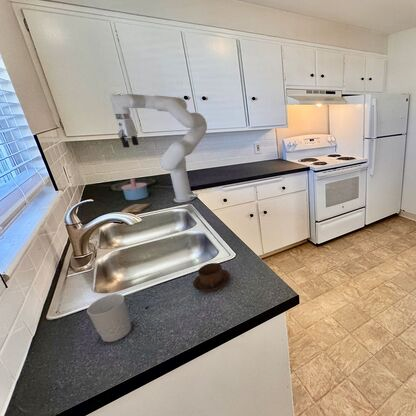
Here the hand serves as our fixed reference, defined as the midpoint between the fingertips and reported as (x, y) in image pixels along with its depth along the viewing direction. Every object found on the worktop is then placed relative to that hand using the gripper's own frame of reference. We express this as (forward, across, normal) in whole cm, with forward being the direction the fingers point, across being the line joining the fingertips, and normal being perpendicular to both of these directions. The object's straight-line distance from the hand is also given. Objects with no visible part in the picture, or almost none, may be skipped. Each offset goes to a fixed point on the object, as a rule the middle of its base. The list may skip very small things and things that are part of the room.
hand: (131, 146), depth 165 cm
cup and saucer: (+35, -96, -73) cm, 126 cm away
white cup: (+36, -116, -53) cm, 132 cm away
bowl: (+36, +10, +10) cm, 39 cm away
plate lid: (+29, +10, +11) cm, 32 cm away
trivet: (+36, -15, -2) cm, 39 cm away
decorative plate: (+37, +40, +29) cm, 61 cm away
